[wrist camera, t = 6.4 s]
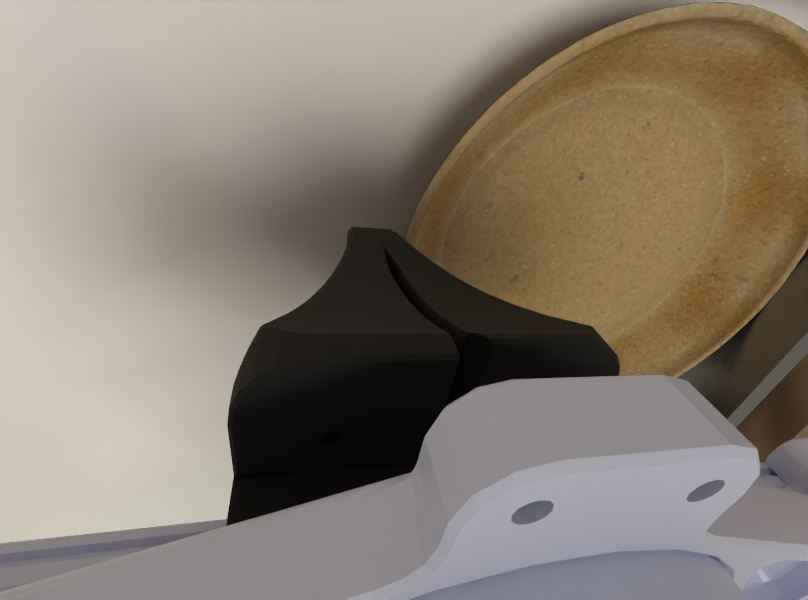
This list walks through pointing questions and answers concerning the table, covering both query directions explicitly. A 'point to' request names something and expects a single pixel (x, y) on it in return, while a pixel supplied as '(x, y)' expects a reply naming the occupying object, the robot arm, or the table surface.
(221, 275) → the table surface
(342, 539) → the robot arm
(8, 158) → the table surface
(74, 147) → the table surface
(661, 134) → the plant saucer
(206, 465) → the table surface
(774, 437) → the brown wooden open box
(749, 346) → the pusher plate
